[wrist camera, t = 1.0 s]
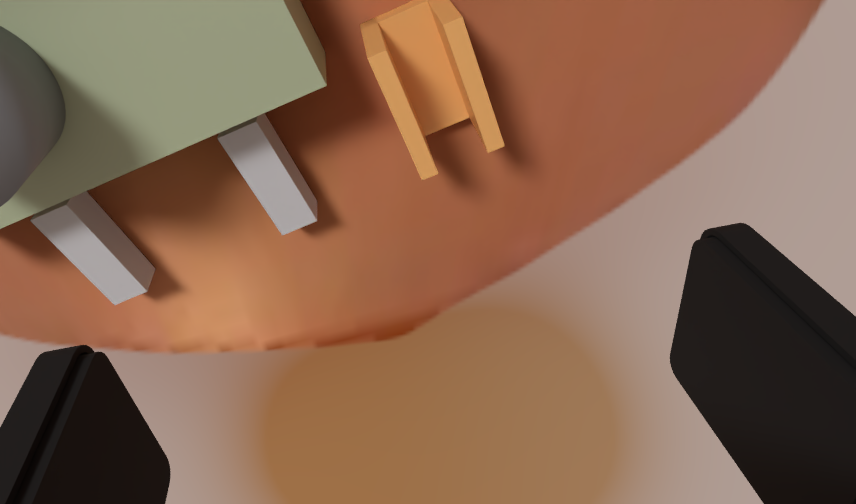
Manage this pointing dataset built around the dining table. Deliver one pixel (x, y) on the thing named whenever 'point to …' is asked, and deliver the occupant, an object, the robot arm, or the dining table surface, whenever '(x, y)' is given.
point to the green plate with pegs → (144, 111)
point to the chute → (429, 75)
